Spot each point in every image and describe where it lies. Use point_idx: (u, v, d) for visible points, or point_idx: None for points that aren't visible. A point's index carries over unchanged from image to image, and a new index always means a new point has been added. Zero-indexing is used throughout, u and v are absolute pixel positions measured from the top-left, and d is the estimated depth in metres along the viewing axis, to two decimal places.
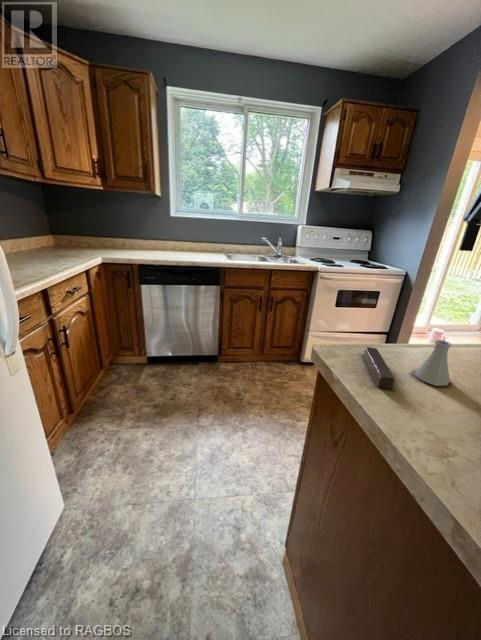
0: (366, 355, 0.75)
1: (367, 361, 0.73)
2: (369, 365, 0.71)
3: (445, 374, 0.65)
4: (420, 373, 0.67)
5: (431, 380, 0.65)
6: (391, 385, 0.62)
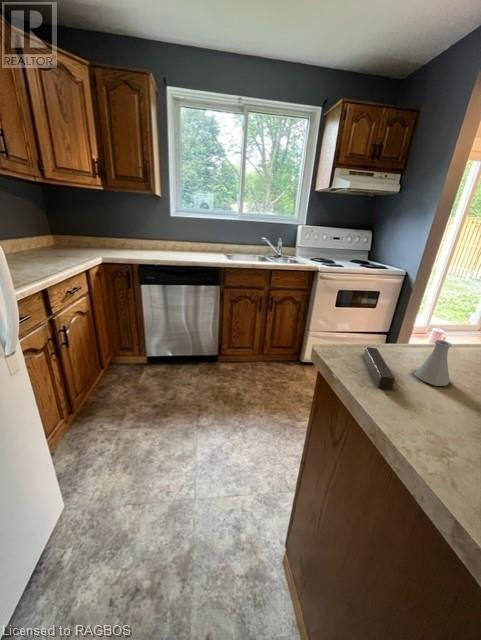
0: (366, 355, 0.75)
1: (367, 361, 0.73)
2: (369, 365, 0.71)
3: (445, 374, 0.65)
4: (420, 373, 0.67)
5: (431, 380, 0.65)
6: (391, 385, 0.62)
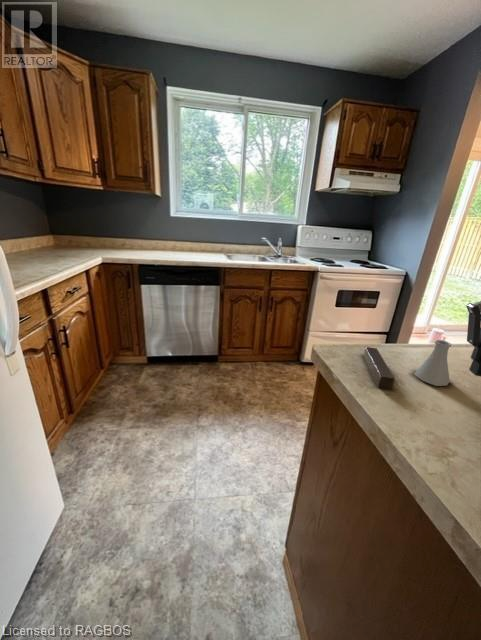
0: (366, 355, 0.75)
1: (367, 361, 0.73)
2: (369, 365, 0.71)
3: (445, 374, 0.65)
4: (420, 373, 0.67)
5: (431, 380, 0.65)
6: (391, 385, 0.62)
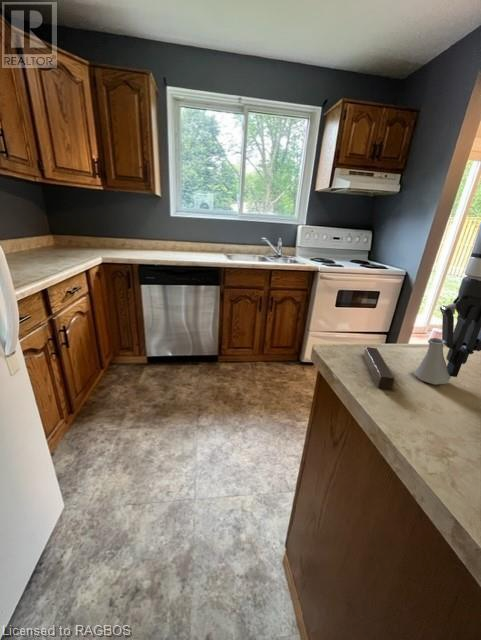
0: (366, 355, 0.75)
1: (367, 361, 0.73)
2: (369, 365, 0.71)
3: (444, 372, 0.64)
4: (419, 373, 0.67)
5: (430, 379, 0.65)
6: (391, 385, 0.62)
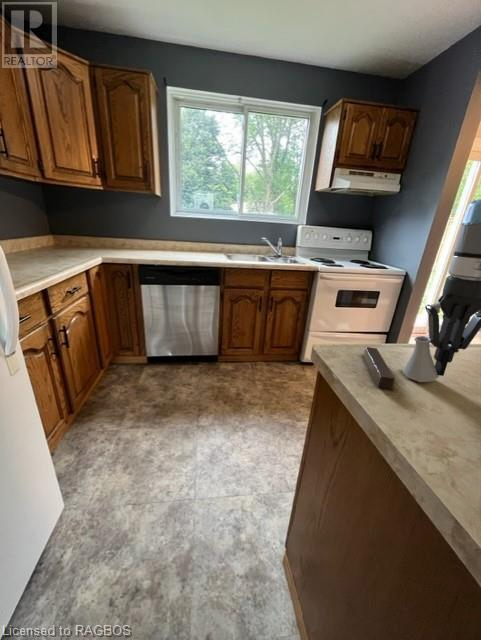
0: (366, 355, 0.75)
1: (367, 361, 0.73)
2: (369, 365, 0.71)
3: (429, 370, 0.65)
4: (406, 370, 0.68)
5: (415, 377, 0.66)
6: (391, 385, 0.62)
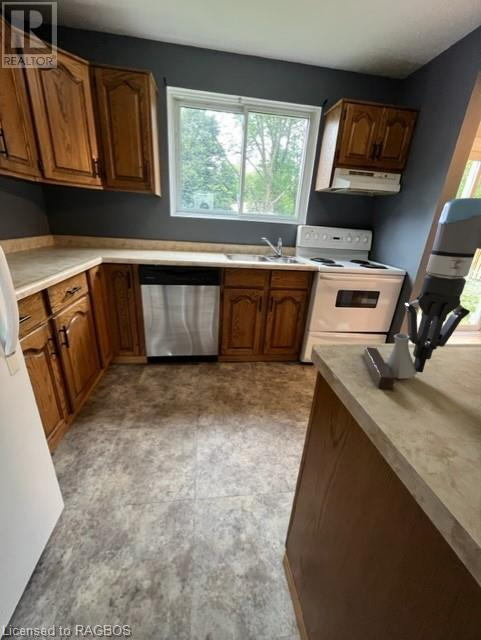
0: (366, 355, 0.75)
1: (367, 361, 0.73)
2: (369, 365, 0.71)
3: (408, 367, 0.66)
4: None
5: (394, 373, 0.67)
6: (391, 385, 0.62)
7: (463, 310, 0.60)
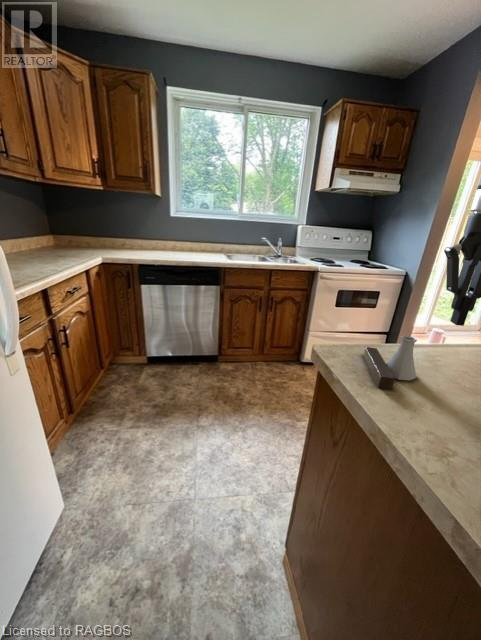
0: (366, 355, 0.75)
1: (367, 361, 0.73)
2: (369, 365, 0.71)
3: (409, 369, 0.66)
4: None
5: (395, 374, 0.67)
6: (391, 385, 0.62)
7: None
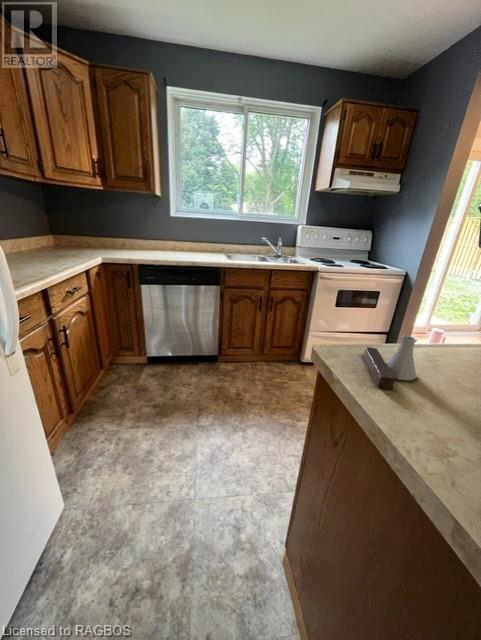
0: (366, 355, 0.75)
1: (367, 361, 0.73)
2: (369, 365, 0.71)
3: (409, 369, 0.66)
4: None
5: (395, 374, 0.67)
6: (391, 385, 0.62)
7: None
